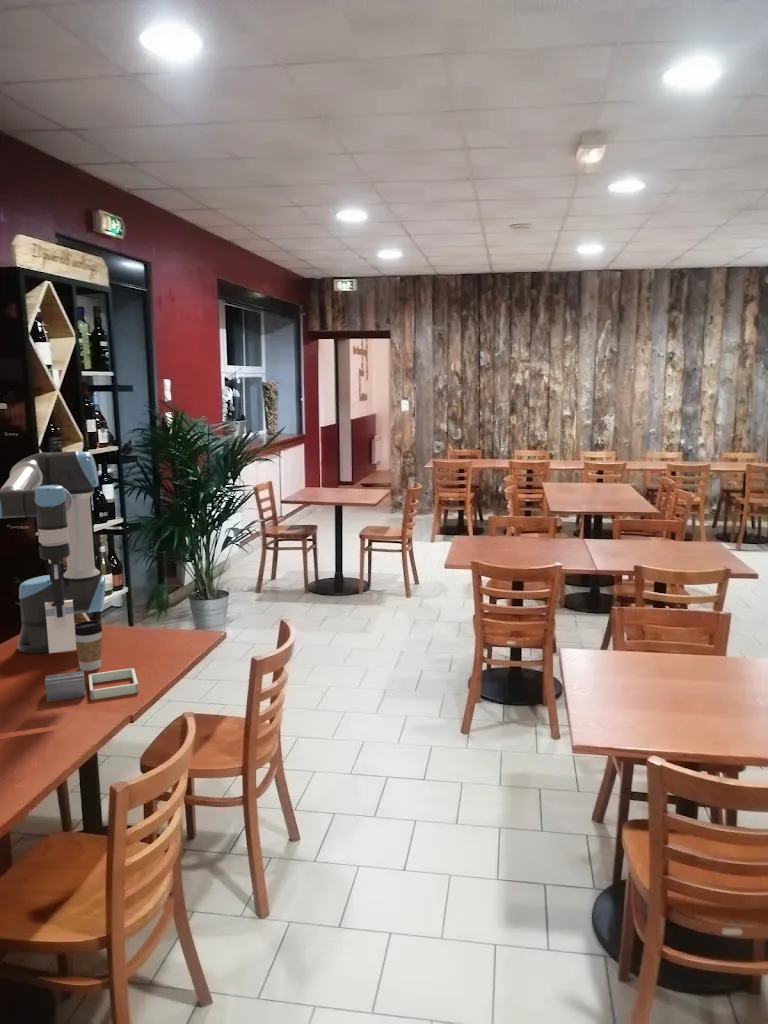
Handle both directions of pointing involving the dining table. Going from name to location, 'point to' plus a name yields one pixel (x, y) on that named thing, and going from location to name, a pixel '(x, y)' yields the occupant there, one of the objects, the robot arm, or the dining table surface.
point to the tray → (116, 689)
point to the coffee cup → (89, 644)
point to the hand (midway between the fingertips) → (60, 626)
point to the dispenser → (65, 686)
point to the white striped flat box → (61, 629)
